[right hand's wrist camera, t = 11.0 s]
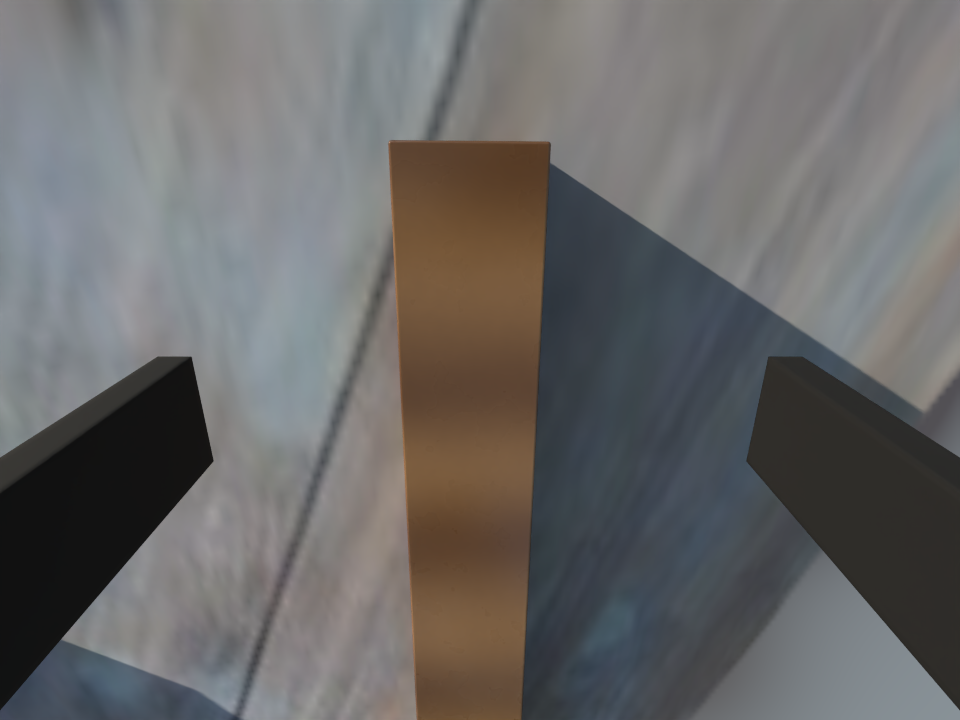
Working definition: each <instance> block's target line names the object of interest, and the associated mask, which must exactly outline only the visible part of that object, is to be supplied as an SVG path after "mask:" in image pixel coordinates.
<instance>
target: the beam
mask: <svg viewBox="0 0 960 720" xmlns="http://www.w3.org/2000/svg"><path fill="white" fill-rule="evenodd" d="M388 146H389V166H390V186H391V206H392V227H393V247H394V267H395V287H396V308H397V328H398V348H399V368H400V389H401V409H402V429H403V449H404V470H405V490H406V510H407V530H408V551H409V571H410V591H411V612H412V632H413V652H414V672H415V693H416V713H417V720H522V706H523V686H524V666H525V646H526V626H527V607H528V587H529V567H530V547H531V527H532V507H533V487H534V468H535V448H536V428H537V408H538V388H539V368H540V348H541V329H542V309H543V289H544V269H545V249H546V229H547V210H548V190H549V170H550V150H551V144H550V142H529V141H411V140H391V141H389V143H388Z"/></svg>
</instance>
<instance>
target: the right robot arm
mask: <svg viewBox="0 0 960 720" xmlns="http://www.w3.org/2000/svg"><path fill="white" fill-rule="evenodd" d="M212 462H213V456H212V451H211V447H210V442H209V437H208V432H207V428H206V423H205V418H204V414H203V409H202V404H201V399H200V395H199V390H198V385H197V381H196V376H195V371H194V366H193V362H192V357H157V358H155V359H153V360H152V361H150V362H149V363H147V364H146V365H144V366H142V367H141V368H139V369H138V370H136V371H135V372H133V373H132V374H130V375H128V376H127V377H125V378H124V379H122V380H121V381H119V382H118V383H116V384H114V385H113V386H111V387H110V388H108V389H107V390H105V391H103V392H102V393H100V394H99V395H97V396H96V397H94V398H93V399H91V400H89V401H88V402H86V403H85V404H83V405H82V406H80V407H79V408H77V409H75V410H74V411H72V412H71V413H69V414H68V415H66V416H64V417H63V418H61V419H60V420H58V421H57V422H55V423H54V424H52V425H50V426H49V427H47V428H46V429H44V430H43V431H41V432H39V433H38V434H36V435H35V436H33V437H32V438H30V439H29V440H27V441H25V442H24V443H22V444H21V445H19V446H18V447H16V448H15V449H13V450H11V451H10V452H8V453H7V454H5V455H4V456H2V457H0V710H1V709H2V707H3V706H4V705H5V704H6V703H7V702H8V700H9V699H10V698H11V697H12V696H13V695H14V693H15V692H16V691H17V690H18V689H19V688H20V686H21V685H22V684H23V683H24V682H25V681H26V679H27V678H28V677H29V676H30V675H31V674H32V672H33V671H34V670H35V669H36V668H37V667H38V665H39V664H40V663H41V662H42V661H43V660H44V658H45V657H46V656H47V655H48V654H49V653H50V651H51V650H52V649H53V648H54V647H55V646H56V644H57V643H58V642H59V641H60V640H61V639H62V637H63V636H64V635H65V634H66V633H67V632H68V630H69V629H70V628H71V627H72V626H73V625H74V623H75V622H76V621H77V620H78V619H79V618H80V616H81V615H82V614H83V613H84V612H85V611H86V609H87V608H88V607H89V606H90V605H91V604H92V602H93V601H94V600H95V599H96V598H97V597H98V595H99V594H100V593H101V592H102V591H103V590H104V588H105V587H106V586H107V585H108V584H109V583H110V581H111V580H112V579H113V578H114V577H115V576H116V574H117V573H118V572H119V571H120V570H121V569H122V567H123V566H124V565H125V564H126V563H127V562H128V560H129V559H130V558H131V557H132V556H133V555H134V553H135V552H136V551H137V550H138V549H139V548H140V546H141V545H142V544H143V543H144V542H145V541H146V539H147V538H148V537H149V536H150V535H151V534H152V532H153V531H154V530H155V529H156V528H157V527H158V525H159V524H160V523H161V522H162V521H163V520H164V518H165V517H166V516H167V515H168V514H169V513H170V511H171V510H172V509H173V508H174V507H175V506H176V504H177V503H178V502H179V501H180V500H181V499H182V497H183V496H184V495H185V494H186V493H187V492H188V490H189V489H190V488H191V487H192V486H193V485H194V483H195V482H196V481H197V480H198V479H199V478H200V476H201V475H202V474H203V473H204V472H205V471H206V469H207V468H208V467H209V466H210V465H211V464H212ZM747 462H748V464H749V465H750V466H751V467H752V468H753V469H754V471H755V472H756V473H757V474H758V475H759V476H760V478H761V479H762V480H763V481H764V482H765V483H766V485H767V486H768V487H769V488H770V489H771V490H772V492H773V493H774V494H775V495H776V496H777V497H778V499H779V500H780V501H781V502H782V503H783V504H784V506H785V507H786V508H787V509H788V510H789V511H790V513H791V514H792V515H793V516H794V517H795V518H796V520H797V521H798V522H799V523H800V524H801V525H802V527H803V528H804V529H805V530H806V531H807V532H808V534H809V535H810V536H811V537H812V538H813V539H814V541H815V542H816V543H817V544H818V545H819V546H820V548H821V549H822V550H823V551H824V552H825V553H826V554H827V556H828V557H829V558H830V559H831V560H832V562H833V563H834V564H835V565H836V566H837V567H838V569H839V570H840V571H841V572H842V573H843V574H844V576H845V577H846V578H847V579H848V580H849V581H850V583H851V584H852V585H853V586H854V587H855V588H856V590H857V591H858V592H859V593H860V594H861V595H862V597H863V598H864V599H865V600H866V601H867V602H868V604H869V605H870V606H871V607H872V608H873V609H874V611H875V612H876V613H877V614H878V615H879V616H880V618H881V619H882V620H883V621H884V622H885V623H886V624H887V626H888V627H889V628H890V629H891V630H892V632H893V633H894V634H895V635H896V636H897V637H898V639H899V640H900V641H901V642H902V643H903V644H904V646H905V647H906V648H907V649H908V650H909V651H910V653H911V654H912V655H913V656H914V657H915V658H916V660H917V661H918V662H919V663H920V664H921V665H922V667H923V668H924V669H925V670H926V671H927V672H928V674H929V675H930V676H931V677H932V678H933V679H934V681H935V682H936V683H937V684H938V685H939V686H940V688H941V689H942V690H943V691H944V692H945V693H946V695H947V696H948V697H949V698H950V699H951V700H952V702H953V703H954V704H955V705H956V706H957V707H958V709H959V710H960V458H959V457H958V456H956V455H955V454H953V453H952V452H950V451H949V450H947V449H945V448H944V447H942V446H941V445H939V444H938V443H936V442H934V441H933V440H931V439H930V438H928V437H927V436H925V435H924V434H922V433H921V432H919V431H917V430H916V429H914V428H913V427H911V426H910V425H908V424H906V423H905V422H903V421H902V420H900V419H899V418H897V417H896V416H894V415H892V414H891V413H889V412H888V411H886V410H885V409H883V408H881V407H880V406H878V405H877V404H875V403H874V402H872V401H871V400H869V399H867V398H866V397H864V396H863V395H861V394H860V393H858V392H857V391H855V390H853V389H852V388H850V387H849V386H847V385H846V384H844V383H842V382H841V381H839V380H838V379H836V378H835V377H833V376H832V375H830V374H828V373H827V372H825V371H824V370H822V369H821V368H819V367H818V366H816V365H814V364H813V363H811V362H810V361H808V360H807V359H805V358H803V357H768V362H767V366H766V371H765V376H764V381H763V385H762V390H761V395H760V399H759V404H758V409H757V414H756V418H755V423H754V428H753V432H752V437H751V442H750V447H749V451H748V456H747Z"/></svg>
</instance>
